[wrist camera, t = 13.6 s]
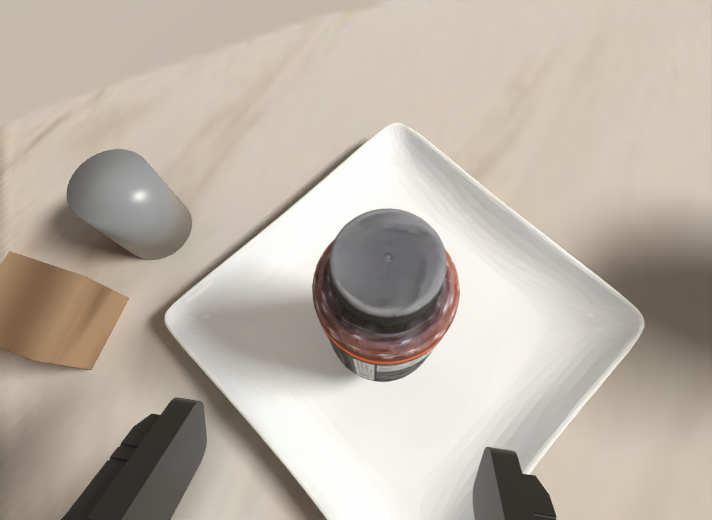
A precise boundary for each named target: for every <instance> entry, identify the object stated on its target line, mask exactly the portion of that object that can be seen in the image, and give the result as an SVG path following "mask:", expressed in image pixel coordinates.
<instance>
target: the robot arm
mask: <svg viewBox="0 0 712 520" xmlns="http://www.w3.org/2000/svg"><path fill="white" fill-rule="evenodd" d="M206 442H207V437H206V426H205V416H204V406H203V403H202V402H201V401H196V400H190V399H183V398H174V399H173V400H171V402H170V403H169V404H168V406H167V407H166V408H165V410H164V411H163V413H162V414H161V415H157V414H151V415H149V416H148V417H147V418H145V419H144V420H142V421H141V422H140V423H138V424H137V425H136V426H134V427H133V428H132V430H131V431H130V432H129V434H128V435H127V436H126V437H125V439H124V440H123V441H122V443H121V445H120V447H118V448H117V449H116V450H115V452H114V453H113V454H112V455H111V457H110V460H109V461H107V462H106V463H105V465H104V466H103V467H102V468H101V470H100V471H99V472H98V474H97V475H96V476H95V477H94V479H93V480H92V481H91V483H90V484H89V485H88V486H87V488H86V489H85V490H84V492H83V493H82V494H81V496H80V497H79V498H78V499H77V501H76V502H75V503H74V505H73V506H72V507H71V508H70V510H69V511H68V512H67V513H66V515H65V516H64V517H63V518H62V519H61V520H170V519H171V517H172V515H173V514H174V512H175V510H176V508H177V506H178V504H179V502H180V500H181V499H182V497H183V495H184V493H185V491H186V489H187V487H188V485H189V484H190V482H191V480H192V478H193V476H194V474H195V472H196V470H197V468H198V467H199V465H200V463H201V461H202V458H203V456H204V452H205V448H206ZM473 511H474V518H475V520H556V514H555V511H554V508H553V505H552V502H551V499H550V496H549V494H548V493H547V491H546V490H545V488H544V487H543V486H542V484H541V483H540V482H539V480H538V479H537V477H536V476H534V475H528V474H523V473H522V470H521V466H520V463H519V459H518V456H517V454H516V452H515V451H512V450H506V449H499V448H493V447H485V449H484V452H483V455H482V458H481V462H480V465H479V468H478V472H477V475H476V478H475V482H474V486H473Z"/></svg>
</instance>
